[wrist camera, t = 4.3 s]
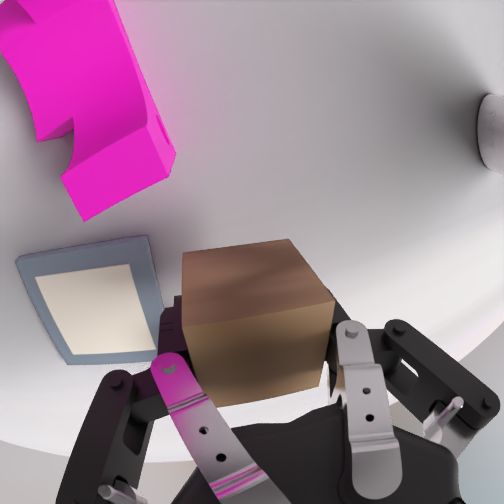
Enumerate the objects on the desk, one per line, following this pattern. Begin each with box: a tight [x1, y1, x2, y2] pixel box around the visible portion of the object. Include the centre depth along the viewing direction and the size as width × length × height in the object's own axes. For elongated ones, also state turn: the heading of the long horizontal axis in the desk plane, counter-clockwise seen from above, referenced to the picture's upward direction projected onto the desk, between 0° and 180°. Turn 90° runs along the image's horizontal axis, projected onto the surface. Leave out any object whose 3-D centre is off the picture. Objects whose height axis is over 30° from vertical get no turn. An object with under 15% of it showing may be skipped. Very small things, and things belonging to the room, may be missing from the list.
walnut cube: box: [182, 239, 335, 408], centre depth 12 cm, size 5×5×5 cm
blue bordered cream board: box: [15, 235, 164, 365], centre depth 18 cm, size 11×11×1 cm
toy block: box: [0, 0, 176, 222], centre depth 9 cm, size 15×6×8 cm, turn 20°
